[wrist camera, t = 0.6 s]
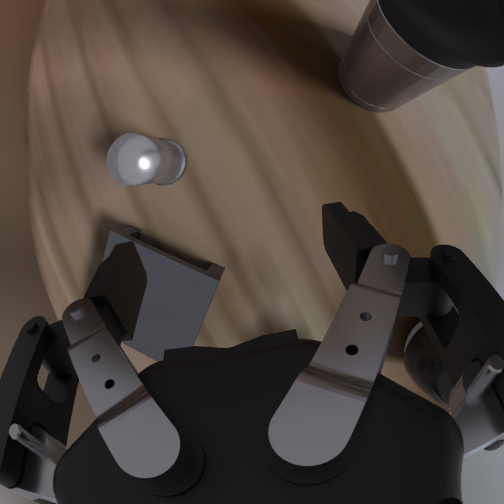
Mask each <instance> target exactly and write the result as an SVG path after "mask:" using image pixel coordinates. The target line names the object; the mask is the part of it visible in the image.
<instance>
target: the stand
mask: <svg viewBox="0 0 504 504" xmlns="http://www.w3.org/2000/svg"><path fill="white" fill-rule="evenodd" d="M139 234H140V229H138V228H135V227H133V226H131V225H130V226H127V227H124V228H121V229H119V230H118V229H116V228H115V229H112V230H110V232H109V236H108V240H107V244H106V248H105V253H104V257H103V261H104V260H105V259H106V258H107V257H109V255H110V253H111V251H112V249H113V247H114V246H115V245H116V244H119V243H124V242H128V241H132V242H133V243H134V244H135V246H136V249H137V251H138V254H139V256H140V259H141V261H142V264H143V266H144V268H145V271H146V274H147V286H146V290H145V293H144V297H143V301H142V304H141V308H140V312H139V316H138V320H137V324H136V328H135V332H134V336H133V340H131V341H121V342H122V343H124V344H125V345H127V346H129V347H131V348H133V349H135V350H137V351H139V352H140V353H142V354H144V355H146V356H148V357H150V358H152V359H154V360H156V361H161V360H163V357H164V350H166V349H175V348H183V347H191V346H193V345H194V343H195V340H196V338H197V335H198V333H199V330H200V328H201V325H202V323H203V320H204V318H205V315H206V313H207V310H208V308H209V306H210V303H211V301H212V298H213V296H214V293H215V291H216V288H217V286H218V284H219V281H220V279H221V277H222V274H223V272H224V269H225V268H223V267H221V266H219V265H217V264H214V263H213V264H212V265H211V266H210V267H209V269H208V270H207V271H205V270H203V269H201V268H199V267H196V266H194V265H192V264H190V263H188V262H186V261H183V260H181V259H179V258H177V257H175V256H172V255H170V254H168V253H166V252H164V251H162V250H160V249H157V248H155V247H153V246H151V245H149V244H147V243H145V242H143V241H140V240H138V237H139Z"/></svg>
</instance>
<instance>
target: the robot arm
mask: <svg viewBox="0 0 504 504" xmlns="http://www.w3.org/2000/svg"><path fill="white" fill-rule="evenodd" d="M503 65H504V0H370V1H369V3H368V5H367V7H366V9H365V11H364V13H363V15H362V17H361V19H360V21H359V23H358V25H357V27H356V29H355V31H354V33H353V35H352V37H351V39H350V41H349V43H348V45H347V47H346V49H345V51H344V53H343V55H342V57H341V60H340V62H339V66H338V77H339V81H340V84H341V86H342V88H343V90H344V91H345V93H346V94H347V95H348V96H349V98H350V99H352V100H353V101H354V102H355V103H356V104H358V105H359V106H361V107H363V108H365V109H368V110H370V111H375V112H388V111H392V110H394V109H396V108H398V107H400V106H401V105H403V104H405V103H407V102H409V101H411V100H412V99H414V98H416V97H418V96H420V95H422V94H423V93H425V92H427V91H429V90H431V89H433V88H434V87H436V86H438V85H440V84H442V83H444V82H446V81H448V80H450V79H451V78H453V77H455V76H457V75H459V74H461V73H463V72H465V71H467V70H468V69H470V68H472V67H474V66H482V67H499V66H503ZM322 222H323V241H324V246H325V250H326V252H327V254H328V256H329V258H330V260H331V262H332V263H333V265H334V267H335V269H336V271H337V273H338V275H339V277H340V279H341V280H342V282H343V284H344V286H345V288H346V290H347V293H346V295H345V297H344V299H343V301H342V303H341V305H340V307H339V309H338V311H337V313H336V315H335V317H334V319H333V321H332V323H331V325H330V327H329V329H328V331H327V333H326V335H325V337H324V339H323V341H322V342H320V341H316V340H310V339H298V336H297V332H296V329H294V330H289V331H284V332H279V333H273V334H268V335H263V336H260V337H257V338H255V339H252V340H250V341H247V342H244V343H242V344H239V345H236V346H233V347H230V348H215V347H201V346H191V347H183V348H175V349H166V350H164V357H163V360H161V361H158V362H156V363H154V364H152V365H150V366H148V367H147V368H145V369H144V370H142V371H141V372H140V373H138V372H137V370H136V369H135V367H134V366H133V364H132V363H131V361H130V360H129V358H128V357H127V355H126V354H125V352H124V351H123V349H122V348H121V346H120V345H121V341H131V340H133V336H134V332H135V328H136V324H137V320H138V316H139V312H140V308H141V304H142V301H143V297H144V293H145V290H146V286H147V274H146V271H145V268H144V266H143V264H142V261H141V259H140V256H139V254H138V251H137V249H136V246H135V244H134V243H133V242H132V241H128V242H124V243H119V244H116V245H115V246H114V247H113V249H112V251H111V253H110V255H109V257H107V258H106V259H105V260H104V261H103V262H102V263H101V264H100V265H99V267H98V269H97V271H96V274H95V275H94V277H93V281H91V283H90V285H89V287H88V289H87V291H86V293H85V296H84V298H82V299H79V300H76V301H74V302H73V303H71V304H70V305H69V306H68V307H67V308H66V309H65V311H64V312H63V315H62V320H60V321H58V322H55V323H53V324H50V325H49V324H48V322H47V321H46V319H45V318H44V317H42V316H37V317H34V318H32V319H31V320H29V321H28V322H27V323H26V324H25V325H24V326H23V328H22V329H21V332H20V334H19V336H18V338H17V340H16V342H15V344H14V347H13V349H12V352H11V354H10V356H9V358H8V361H7V363H6V366H5V368H4V371H3V373H2V376H1V378H0V484H1V485H2V486H3V487H4V488H6V489H8V490H10V491H12V492H14V493H16V494H18V495H20V496H22V497H24V498H26V499H29V500H33V501H35V502H37V503H40V504H56V503H57V504H463V501H462V495H461V470H462V463H463V459H465V458H467V457H469V456H470V455H473V454H474V453H476V452H478V451H480V450H482V449H485V450H495V449H497V448H499V447H500V446H502V445H503V444H504V300H503V299H502V298H501V296H500V295H499V294H498V293H497V291H496V290H495V289H494V288H493V286H492V285H491V284H490V283H489V281H488V280H487V279H486V278H485V277H484V275H483V274H482V273H481V272H480V271H479V270H478V268H477V267H476V266H475V265H474V264H473V263H472V262H471V260H470V259H469V258H468V257H467V256H466V255H465V254H464V253H463V252H462V251H461V250H460V249H458V248H456V247H454V246H450V245H438V246H435V247H434V248H433V249H432V250H431V255H430V258H413V257H410V255H409V253H408V252H407V251H406V250H405V249H404V248H402V247H400V246H398V245H394V244H387V242H386V241H385V240H384V239H383V238H382V236H381V235H380V234H379V233H378V232H377V231H376V230H375V229H374V227H373V226H372V225H371V224H369V222H368V220H367V219H366V218H365V217H364V216H363V215H361V214H359V213H357V212H355V211H353V212H349V211H348V210H347V209H346V208H345V206H344V205H343V204H342V203H341V202H336V203H329V204H323V206H322ZM453 304H454V305H455V307H456V308H457V310H458V313H459V314H458V313H457V311H456V310H455V308H454V307H453ZM398 317H418V318H419V320H420V322H421V323H422V325H423V327H424V329H425V331H426V333H427V334H428V336H429V338H430V340H431V342H432V344H433V346H434V348H435V350H436V352H437V354H438V356H439V358H440V360H441V362H442V364H443V366H444V368H445V370H446V372H447V374H448V376H449V378H450V380H451V383H452V385H453V387H454V388H453V389H452V391H451V393H450V396H449V404H450V408H451V415H450V414H449V413H448V412H447V411H445V410H444V409H442V408H441V407H439V406H437V405H435V404H433V403H432V402H430V401H428V400H426V399H424V398H422V397H421V396H419V395H417V394H415V393H413V392H412V391H410V390H408V389H406V388H404V387H403V386H401V385H399V384H397V383H396V382H394V381H392V380H390V379H389V378H387V377H385V376H383V375H382V374H381V371H382V368H383V365H384V361H385V358H386V355H387V352H388V349H389V346H390V343H391V339H392V336H393V333H394V329H395V326H396V322H397V318H398ZM41 364H42V365H43V366H44V367H45V368H46V369H47V371H48V372H49V374H48V377H47V381H46V384H45V388H44V391H43V390H42V389H41V388H40V387H39V385H38V381H37V376H38V373H39V370H40V367H41ZM79 380H80V383H81V385H82V387H83V389H84V392H85V394H86V396H87V398H88V401H89V403H90V405H91V407H92V409H93V411H94V413H95V415H96V417H97V418H96V420H95V421H94V422H93V423H92V424H91V425H90V426H89V427H88V428H87V429H86V430H85V431H84V433H83V434H82V435H81V436H80V437H79V438H78V439H77V440H76V441H75V442H74V443H73V444H72V446H71V447H70V448H69V449H68V450H67V449H66V444H67V438H68V431H69V426H70V420H71V415H72V410H73V405H74V400H75V395H76V391H77V387H78V382H79Z"/></svg>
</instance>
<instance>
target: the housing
mask: <svg viewBox="0 0 504 504" xmlns="http://www.w3.org/2000/svg"><path fill="white" fill-rule="evenodd" d="M186 165H187V157H186V153H185V151H184V149H183V148H182V146H181V145H180V144H178V143H177V142H175V141H172V140H167V139H163V140H159V139H155V138H151V137H147V136H143V135H139V134H135V133H128V134H124V135H122V136H120V137H119V138H117V139H116V140H115V141H114V142H113V144H112V145H111V147H110V149H109V151H108V154H107V169H108V172H109V174H110V176H111V178H112V179H113V180H114V181H115V182H117V183H118V184H121V185H124V186H131V185H141V184H153V183H155V184H158V185H169V184H172V183H174V182H176V181H177V180H179V179H180V178H181V176H182V175H183V173H184V172H185V169H186Z"/></svg>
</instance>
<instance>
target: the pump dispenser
mask: <svg viewBox="0 0 504 504" xmlns="http://www.w3.org/2000/svg"><path fill="white" fill-rule="evenodd" d="M404 366H405V369H406V371H407V373H408V374H409V376H410V377H411V379H412V380H413V381H414V382H415V383H416V385H417V386H418V387H419V388H420V389H421V390H422V391H423V392H425V393H426V394H427V395H428V396H429V397H431V398H432V399H433V400H435V401H436V402H438V403H439V404H441V405H443V406H445V407H447V408H450V404H449V396H450V393H451V391H452V389H453V388H454V387H453V385H452V383H451V380H450V378H449V376H448V374H447V372H446V370H445V368H444V366H443V364H442V362H441V360H440V358H439V356H438V354H437V352H436V350H435V348H434V346H433V344H432V342H431V340H430V338H429V336H428V334H427V333H426V331H425V329H424V327H423V325H422V323H421V322H419V323H418V324H417V325H416V326H415V327H414V328H413V329H412V331H411V332H410V334H409V336H408V338H407V340H406V344H405V349H404ZM450 409H451V408H450Z"/></svg>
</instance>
